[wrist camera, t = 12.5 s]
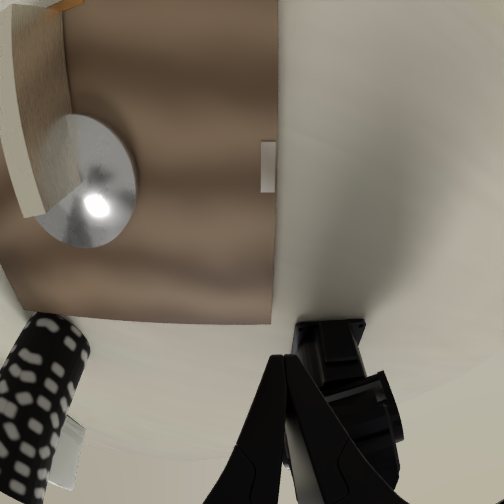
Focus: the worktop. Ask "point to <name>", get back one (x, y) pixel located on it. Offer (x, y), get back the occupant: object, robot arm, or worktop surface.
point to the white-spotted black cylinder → (37, 402)
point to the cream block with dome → (58, 138)
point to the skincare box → (67, 455)
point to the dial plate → (167, 165)
